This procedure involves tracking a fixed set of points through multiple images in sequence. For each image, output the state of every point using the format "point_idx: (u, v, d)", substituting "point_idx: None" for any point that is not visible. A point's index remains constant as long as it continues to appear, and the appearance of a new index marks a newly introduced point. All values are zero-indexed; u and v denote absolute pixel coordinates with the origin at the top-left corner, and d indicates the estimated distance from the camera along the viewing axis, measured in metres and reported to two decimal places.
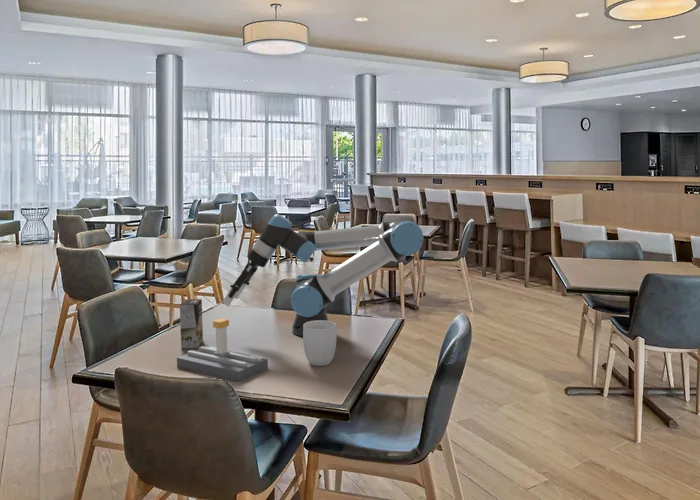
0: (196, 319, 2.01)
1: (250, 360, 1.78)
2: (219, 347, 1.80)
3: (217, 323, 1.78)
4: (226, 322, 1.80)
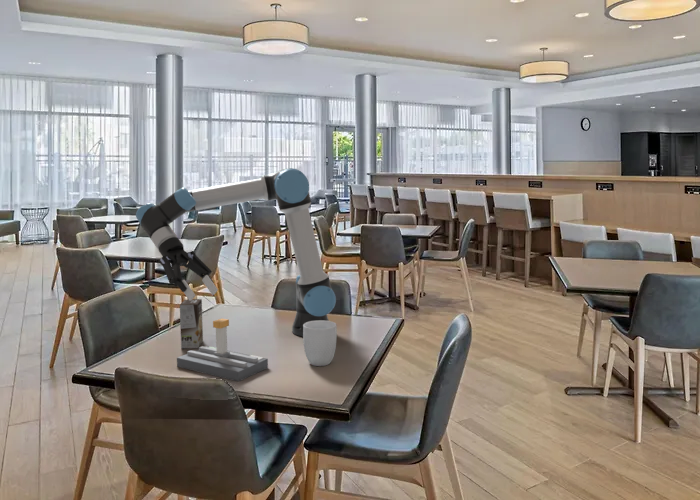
0: (196, 319, 2.01)
1: (250, 360, 1.78)
2: (219, 347, 1.80)
3: (217, 323, 1.78)
4: (226, 322, 1.80)
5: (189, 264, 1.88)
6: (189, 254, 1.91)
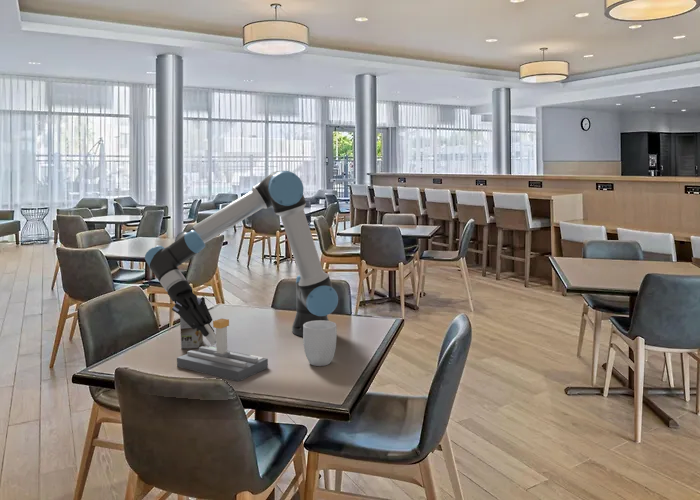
0: None
1: (250, 360, 1.78)
2: (219, 347, 1.80)
3: (217, 323, 1.78)
4: (226, 322, 1.80)
5: (194, 309, 1.86)
6: (198, 299, 1.90)
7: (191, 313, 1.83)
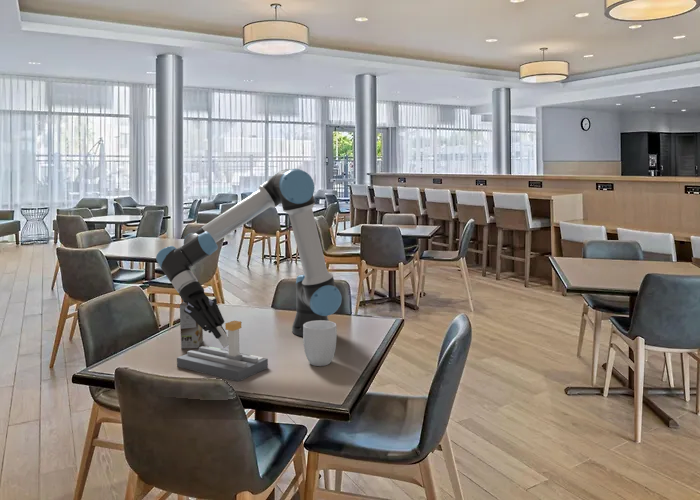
0: None
1: (250, 360, 1.78)
2: (232, 349, 1.78)
3: (229, 325, 1.76)
4: (239, 324, 1.78)
5: (206, 310, 1.84)
6: (210, 300, 1.88)
7: (203, 315, 1.81)
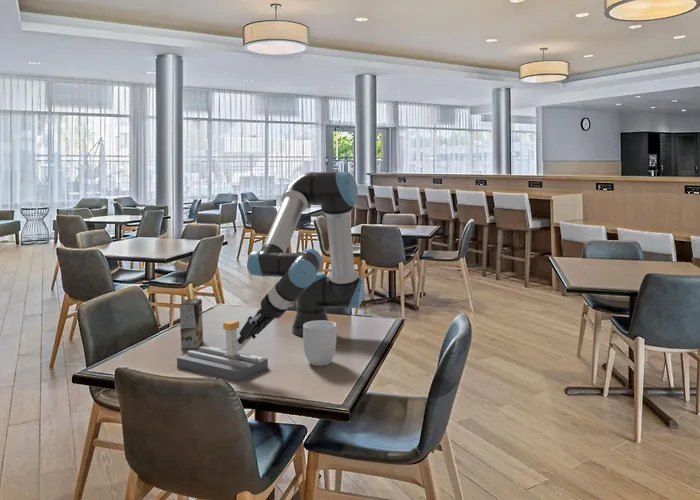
0: (196, 319, 2.01)
1: (250, 360, 1.78)
2: (229, 349, 1.78)
3: (227, 325, 1.76)
4: (237, 324, 1.78)
5: None
6: None
7: None
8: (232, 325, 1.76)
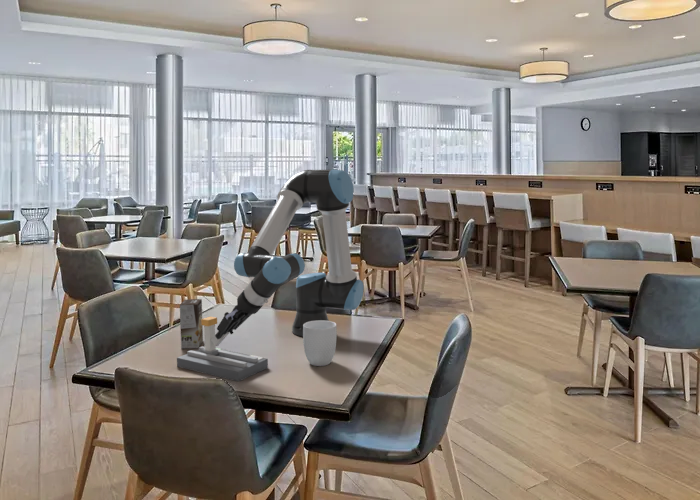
0: (196, 319, 2.01)
1: (250, 360, 1.78)
2: (208, 344, 1.83)
3: (205, 321, 1.81)
4: (215, 320, 1.83)
5: None
6: None
7: None
8: (210, 321, 1.81)
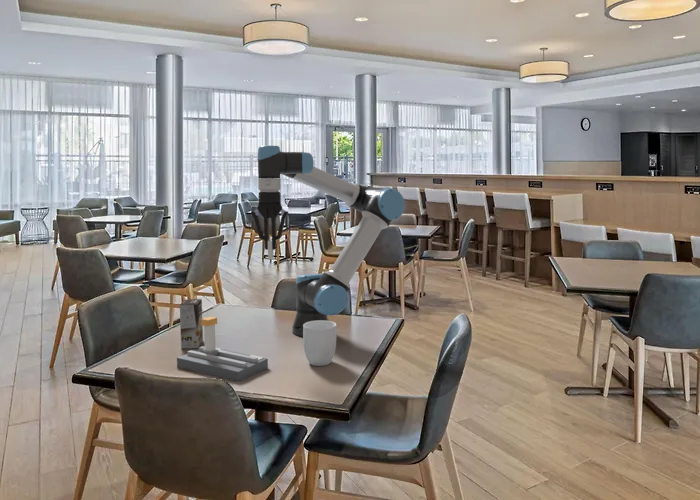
0: (196, 319, 2.01)
1: (250, 360, 1.78)
2: (208, 344, 1.83)
3: (205, 321, 1.81)
4: (215, 320, 1.83)
5: (268, 220, 1.96)
6: None
7: (275, 224, 1.96)
8: (210, 321, 1.81)
